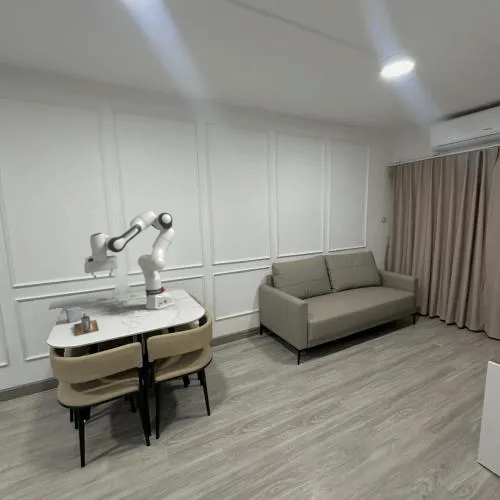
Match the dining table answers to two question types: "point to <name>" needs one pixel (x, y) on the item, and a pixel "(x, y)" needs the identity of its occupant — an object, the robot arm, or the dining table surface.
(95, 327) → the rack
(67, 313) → the medicine box
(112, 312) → the dining table surface
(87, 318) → the grey round-headed bar
